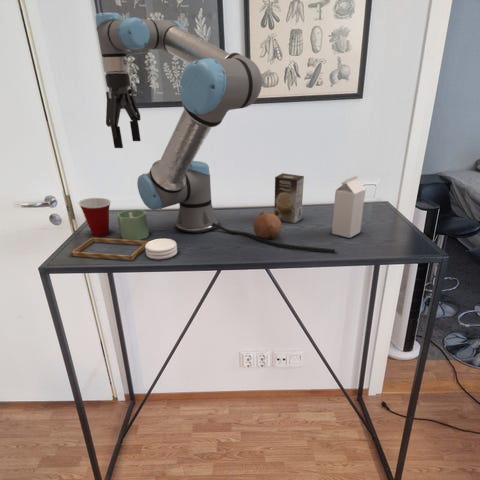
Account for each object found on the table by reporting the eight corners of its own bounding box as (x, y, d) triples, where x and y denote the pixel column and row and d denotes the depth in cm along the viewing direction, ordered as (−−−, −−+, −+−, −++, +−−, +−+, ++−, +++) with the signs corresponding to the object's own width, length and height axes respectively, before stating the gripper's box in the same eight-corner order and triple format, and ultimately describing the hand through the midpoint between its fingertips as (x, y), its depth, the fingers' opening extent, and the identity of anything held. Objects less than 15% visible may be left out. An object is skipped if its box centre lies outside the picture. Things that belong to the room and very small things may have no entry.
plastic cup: (108, 240, 147) (101, 206, 141) (80, 238, 149) (72, 205, 143) (121, 229, 156) (115, 197, 150) (95, 228, 158) (88, 196, 152)
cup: (153, 231, 153) (150, 210, 149) (142, 241, 145) (138, 218, 141) (129, 230, 155) (125, 209, 151) (116, 239, 148) (112, 217, 143)
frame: (149, 244, 143) (148, 241, 142) (131, 260, 132) (131, 256, 131) (93, 241, 147) (92, 237, 146) (71, 256, 136) (70, 252, 135)
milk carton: (360, 232, 146) (367, 176, 136) (349, 238, 142) (356, 181, 132) (342, 228, 151) (347, 173, 141) (331, 234, 146) (336, 177, 136)
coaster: (179, 257, 133) (178, 247, 131) (148, 262, 130) (146, 251, 128) (174, 246, 141) (173, 236, 139) (144, 250, 138) (143, 240, 137)
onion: (258, 244, 148) (249, 216, 146) (284, 235, 147) (275, 207, 146) (258, 244, 139) (249, 214, 137) (286, 235, 138) (277, 205, 136)
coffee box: (273, 219, 161) (273, 176, 152) (280, 215, 165) (281, 172, 157) (294, 223, 156) (296, 179, 148) (302, 218, 161) (304, 175, 153)
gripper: (108, 74, 123) (121, 151, 134) (144, 71, 143) (152, 138, 154) (85, 74, 124) (99, 151, 136) (124, 72, 145) (134, 138, 156)
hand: (128, 144), depth 145 cm, fingers open, 13 cm apart
